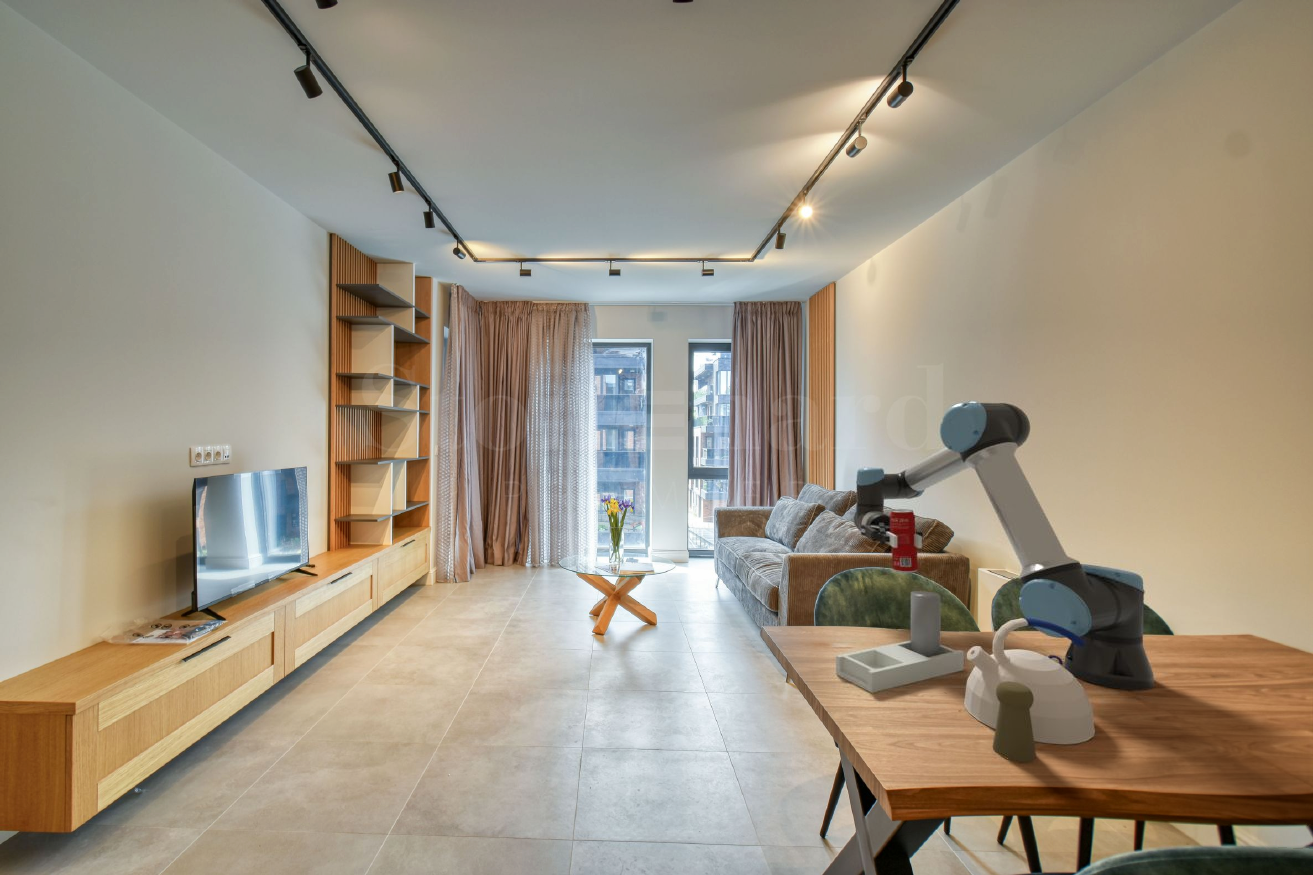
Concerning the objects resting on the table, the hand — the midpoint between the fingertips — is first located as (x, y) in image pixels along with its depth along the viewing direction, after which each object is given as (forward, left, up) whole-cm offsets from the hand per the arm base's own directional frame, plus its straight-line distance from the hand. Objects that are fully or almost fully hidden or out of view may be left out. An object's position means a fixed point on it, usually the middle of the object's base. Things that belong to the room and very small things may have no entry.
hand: (907, 542), depth 139 cm
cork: (-39, +20, -26) cm, 51 cm away
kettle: (-32, +6, -26) cm, 42 cm away
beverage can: (+4, -3, -8) cm, 10 cm away
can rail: (-8, +11, -26) cm, 29 cm away
